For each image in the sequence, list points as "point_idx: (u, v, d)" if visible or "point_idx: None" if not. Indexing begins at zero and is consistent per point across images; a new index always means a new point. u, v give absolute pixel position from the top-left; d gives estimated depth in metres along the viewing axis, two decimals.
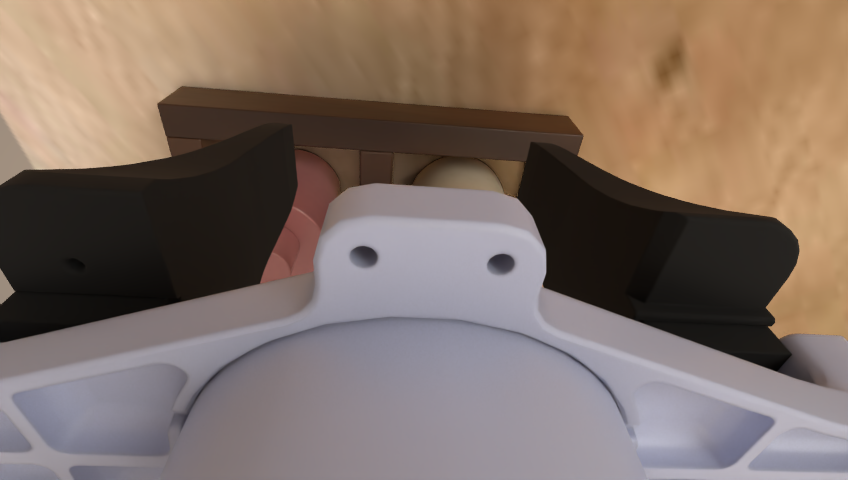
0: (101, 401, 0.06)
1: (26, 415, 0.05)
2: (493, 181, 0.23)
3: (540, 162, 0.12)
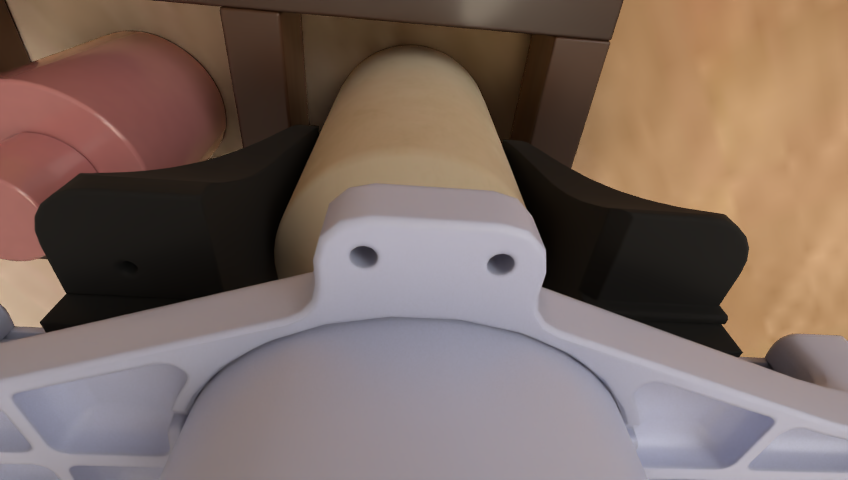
0: (100, 401, 0.06)
1: (26, 415, 0.05)
2: (466, 79, 0.13)
3: (510, 160, 0.12)
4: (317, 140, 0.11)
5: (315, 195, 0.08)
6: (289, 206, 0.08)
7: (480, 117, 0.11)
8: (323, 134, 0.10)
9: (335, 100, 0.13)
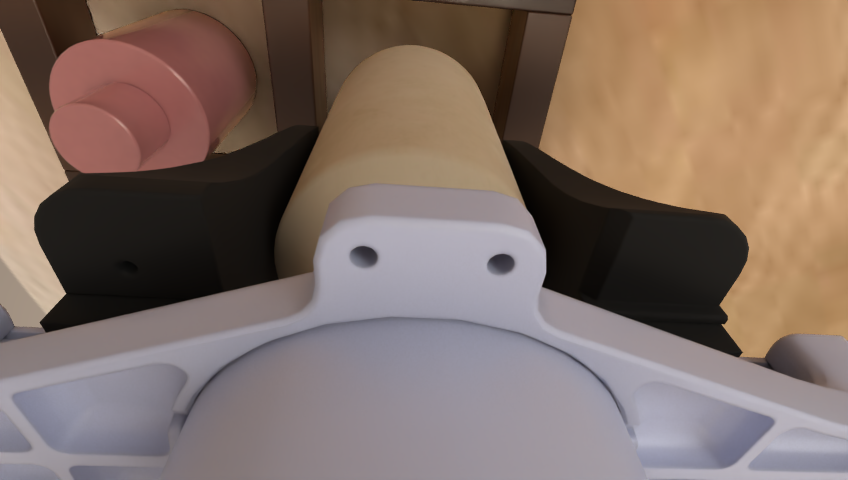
0: (101, 400, 0.06)
1: (26, 415, 0.05)
2: (466, 79, 0.13)
3: (510, 161, 0.12)
4: (317, 140, 0.11)
5: (315, 194, 0.08)
6: (289, 205, 0.08)
7: (480, 117, 0.11)
8: (323, 134, 0.10)
9: (335, 100, 0.13)
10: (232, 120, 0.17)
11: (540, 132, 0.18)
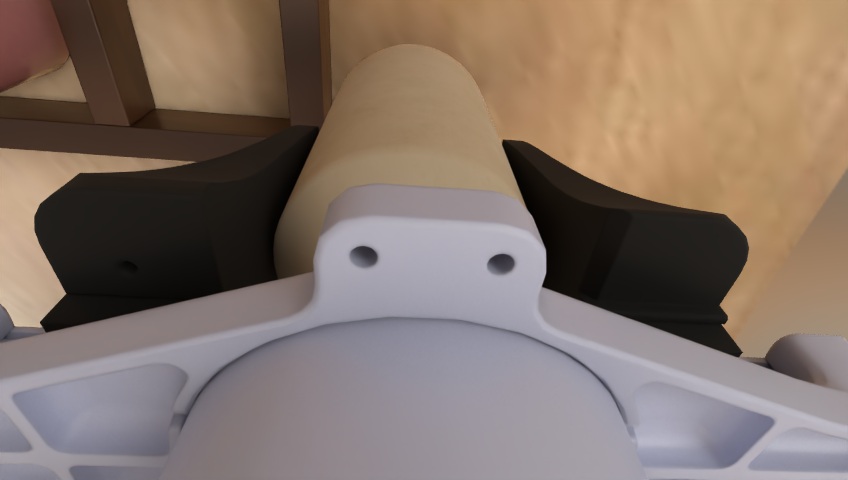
0: (100, 401, 0.06)
1: (26, 415, 0.05)
2: (466, 78, 0.13)
3: (510, 160, 0.12)
4: (316, 139, 0.11)
5: (314, 193, 0.08)
6: (288, 204, 0.08)
7: (480, 115, 0.11)
8: (322, 133, 0.10)
9: (334, 99, 0.13)
10: (25, 57, 0.18)
11: (319, 73, 0.19)
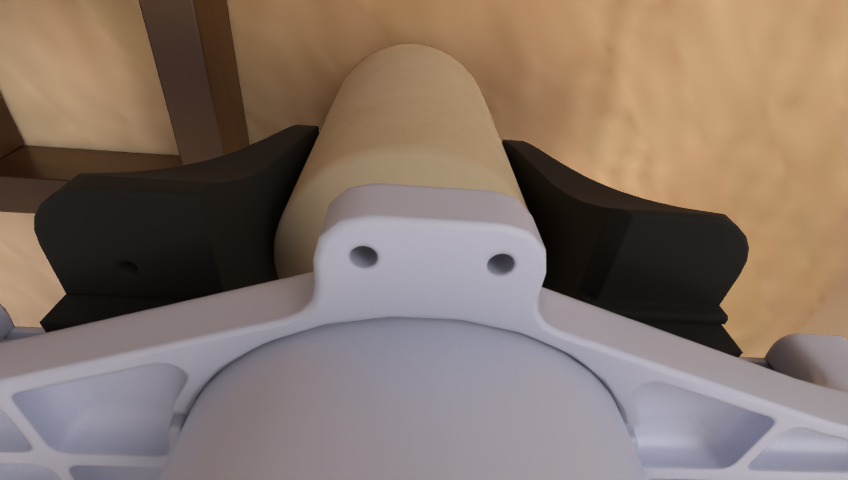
0: (100, 401, 0.06)
1: (26, 415, 0.05)
2: (467, 78, 0.13)
3: (510, 160, 0.12)
4: (317, 139, 0.11)
5: (314, 193, 0.08)
6: (289, 204, 0.08)
7: (480, 115, 0.11)
8: (323, 132, 0.10)
9: (335, 99, 0.13)
10: None
11: (211, 106, 0.14)
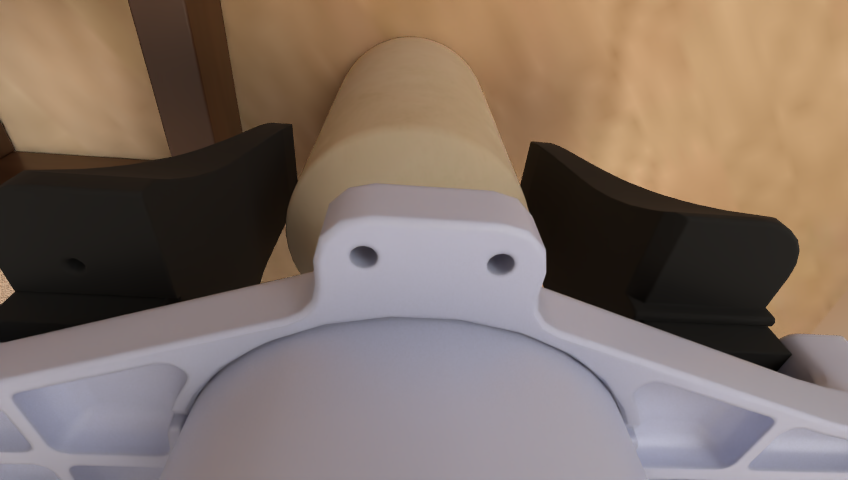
0: (102, 400, 0.06)
1: (26, 415, 0.05)
2: (465, 68, 0.14)
3: (540, 162, 0.12)
4: (324, 123, 0.12)
5: (325, 168, 0.09)
6: (300, 179, 0.09)
7: (477, 102, 0.12)
8: (330, 117, 0.11)
9: (340, 88, 0.14)
10: None
11: (205, 112, 0.14)
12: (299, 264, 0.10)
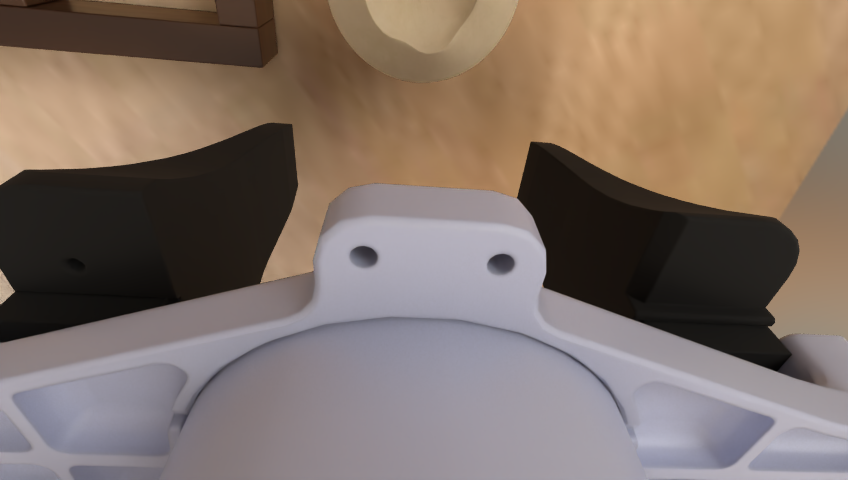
0: (101, 401, 0.06)
1: (26, 415, 0.05)
2: None
3: (540, 162, 0.12)
4: None
5: None
6: None
7: None
8: None
9: None
10: None
11: None
12: None
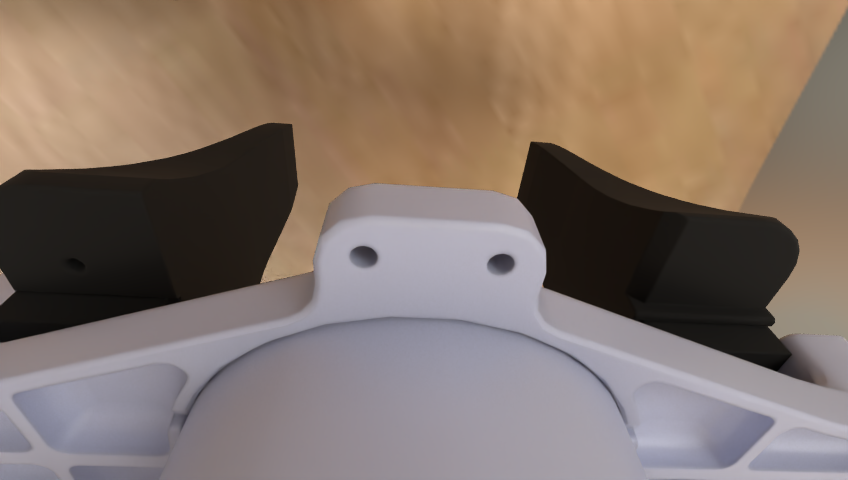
0: (101, 401, 0.06)
1: (26, 415, 0.05)
2: None
3: (540, 162, 0.12)
4: None
5: None
6: None
7: None
8: None
9: None
10: None
11: None
12: None
